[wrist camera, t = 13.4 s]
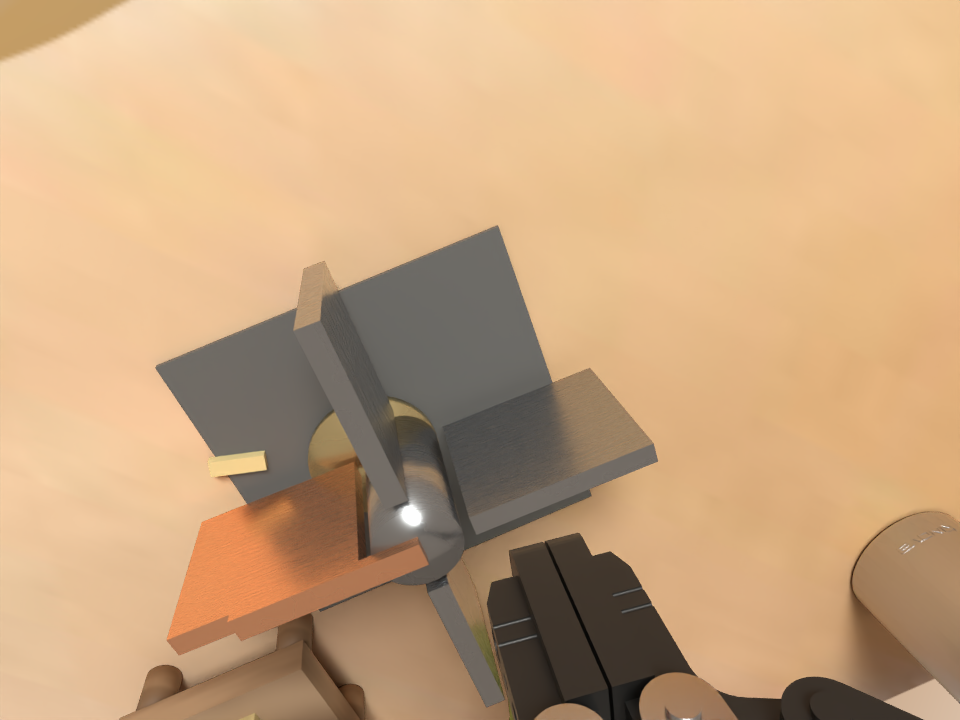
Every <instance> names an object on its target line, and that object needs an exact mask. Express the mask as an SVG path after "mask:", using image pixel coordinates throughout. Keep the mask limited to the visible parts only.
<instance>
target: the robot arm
mask: <svg viewBox="0 0 960 720" xmlns="http://www.w3.org/2000/svg"><path fill="white" fill-rule="evenodd" d="M509 556H510V563H511V569H512V575H513V577H510V578H506V579H503V580H499V581H495V582H492V583H491V587H490V592H489V597H488V601H487V607H488V613H489V618H490V623H491V629H492V634H493V639H494V645H495V650H496V655H497V660H498V663H499V667H500V671H501V674H502V678H503V681H504V685H505V689H506V693H507V697H508V700H509V704H510V708H511V711H512V715H513V719H514V720H923V719H921V718H919V717H916V716H914V715H912V714H910V713H907V712H905V711H903V710H901V709H899V708H896V707H894V706H892V705H890V704H887V703H885V702H883V701H881V700H879V699H876V698H874V697H872V696H870V695H867V694H865V693H863V692H861V691H859V690H856V689H854V688H852V687H850V686H847V685H845V684H843V683H841V682H838V681H835V680H832V679H828V678H823V677H806V678H802V679H799V680H796V681H794V682H793V683H791V684H790V685H789V686H788V687H787V688H786V689H785V691H784V693H783V695H782V698H781V699H768V698H745V697H736V696H732V695H728V694H725V693H722V692H720V691H718V690H716V689H715V688H714V687H713V686H711V685H710V684H709V683H707V682H706V681H704V680H703V679H701V678H699V677H698V676H697V675H696V674H695V673H694V672H693V671H692V669H691V668H690V666H689V665H688V663H687V661H686V660H685V658H684V656H683V655H682V653H681V651H680V650H679V648H678V646H677V645H676V643H675V641H674V640H673V638H672V636H671V634H670V633H669V631H668V629H667V628H666V626H665V624H664V623H663V621H662V619H661V618H660V616H659V614H658V613H657V611H656V609H655V607H654V606H652V603H651V601H650V599H649V597H648V596H647V594H646V592H645V591H644V590H643V589H642V586H641V584H640V582H639V580H638V579H637V577H636V575H635V574H634V572H633V570H632V569H631V567H630V566H629V565H628V564H626V563H625V562H624V561H622V560H621V559H620V558H618V557H617V556H616V555H614V554H613V553H612V552H606V553H602V554H598V555H595V556H592V555H591V553H590V551H589V549H588V547H587V545H586V543H585V541H584V540H583V538H582V536H581V535H580V534H579V533H575V534H571V535H567V536H564V537H560V538H556V539H552V540H548V541H545V544H544V543H543V542H541V543H537V544H533V545H529V546H525V547H521V548H517V549H513V550H509ZM852 585H853V591H854V593H855V595H856V598H857V599H858V600H859V601H860V602H861V603H862V604H863V605H864V606H865V607H866V608H867V609H868V610H869V611H870V612H871V613H872V614H873V615H874V617H875V618H876V619H877V620H878V621H879V622H880V623H881V624H882V625H883V626H884V627H885V628H886V629H887V630H888V631H889V632H890V633H891V634H892V635H893V636H894V637H895V638H896V639H897V640H898V641H899V642H900V643H901V644H902V645H903V646H904V647H905V648H906V649H907V650H908V651H909V652H910V653H911V654H912V655H913V656H914V658H915V659H916V660H917V661H918V662H919V663H920V664H921V665H922V666H923V667H924V668H925V669H926V670H927V671H928V672H929V673H930V674H931V675H932V676H933V677H934V678H935V679H936V680H937V681H938V682H939V683H940V684H941V685H942V686H943V687H944V688H945V689H946V690H947V691H948V692H949V693H950V694H951V695H952V696H953V697H954V698H955V699H956V700H957V701H958V702H959V703H960V522H958V521H957V520H956V519H954V518H953V517H951V516H950V515H948V514H945V513H941V512H924V513H918V514H915V515H912V516H909V517H906V518H904V519H902V520H900V521H898V522H896V523H895V524H893V525H891V526H890V527H889V528H887V529H886V530H884V531H883V532H882V533H881V534H879V535H878V536H877V537H876V538H875V539H874V540H873V541H872V542H871V543H870V544H869V546H868V547H867V548H866V549H865V550H864V552H863V553H862V555H861V557H860V558H859V560H858V562H857V564H856V567H855V570H854V572H853V579H852Z"/></svg>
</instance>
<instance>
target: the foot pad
mask: <svg viewBox="0 0 960 720" xmlns="http://www.w3.org/2000/svg"><path fill="white" fill-rule="evenodd" d="M338 292H339V294H340V296H341V298H342V300H343V302H344V305H345V307H346V309H347V311H348V313H349V315H350V318H351V320H352V322H353V324H354V326H355V328H356V331H357V333H358V335H359V337H360V339H361V341H362V344H363V346H364V348H365V350H366V352H367V354H368V357H369V359H370V361H371V363H372V365H373V367H374V370H375V372H376V374H377V376H378V378H379V380H380V383H381V385H382V387H383V389H384V391H385V393H386V396H389V397H394V398H398V399H401V400H404V401H406V402H408V403H410V404H412V405H414V406H415V407H417V408H418V409H419V410H421V411H422V412H423V413H424V414H425V415H426V416H427V418H428V419H429V420H430V422H431V423H432V425H433V427H434V429H435V432H436V435H437V438H438V442H439V446H440V450H441V454H442V457H443V461H444V465H445V468H446V472H447V476H448V480H449V483H450V487H451V491H452V494H453V498H454V502H455V505H456V509H457V513H458V517H459V520H460V524H461V528H462V531H463V535H464V550H466V549H469V548H471V547H473V546H476V545H478V544H480V543H483V542H485V541H487V540H490V539H492V538H494V537H497V536H499V535H501V534H504V533H506V532H508V531H511V530H513V529H515V528H518V527H520V526H522V525H525V524H527V523H530V522H532V521H534V520H537V519H539V518H541V517H544V516H546V515H548V514H551V513H553V512H555V511H558V510H560V509H562V508H565V507H567V506H569V505H572V504H574V503H576V502H579V501H581V500H583V499H586V498H588V497H590V496H591V493H590V490H586V491H584V492H581V493H579V494H576V495H574V496H571V497H569V498H566V499H564V500H561V501H559V502H556V503H554V504H551V505H549V506H547V507H544V508H542V509H539V510H537V511H534V512H532V513H529V514H527V515H524V516H522V517H519V518H517V519H514V520H512V521H510V522H507V523H505V524H502V525H500V526H497V527H495V528H492V529H490V530H487V531H485V532H482V533H480V534H477V535H476V532H475V530H474V528H473V526H472V523H471V521H470V519H469V516H468V512H467V509H466V505H465V502H464V499H463V495H462V492H461V488H460V485H459V482H458V478H457V475H456V471H455V468H454V464H453V461H452V458H451V454H450V451H449V447H448V444H447V441H446V437H445V434H444V430H443V426H445V425H448V424H450V423H453V422H455V421H458V420H460V419H463V418H465V417H468V416H470V415H473V414H475V413H478V412H480V411H483V410H485V409H488V408H490V407H493V406H495V405H498V404H500V403H503V402H506V401H508V400H511V399H513V398H516V397H518V396H521V395H523V394H526V393H528V392H531V391H533V390H536V389H538V388H541V387H543V386H546V385H548V384H551V383H552V380H551V377H550V374H549V371H548V369H547V366H546V363H545V360H544V357H543V354H542V351H541V348H540V345H539V343H538V340H537V337H536V334H535V331H534V328H533V325H532V322H531V319H530V316H529V314H528V311H527V308H526V305H525V302H524V299H523V296H522V293H521V290H520V288H519V285H518V282H517V279H516V276H515V273H514V270H513V267H512V264H511V262H510V259H509V256H508V253H507V250H506V247H505V244H504V241H503V238H502V236H501V233H500V230H499V227H498V226H495V227H492V228H490V229H488V230H485V231H483V232H480V233H478V234H475V235H473V236H470V237H468V238H466V239H463V240H461V241H458V242H456V243H453V244H451V245H449V246H446V247H444V248H441V249H439V250H436V251H434V252H432V253H429V254H427V255H424V256H422V257H419V258H417V259H415V260H412V261H410V262H407V263H405V264H402V265H400V266H398V267H395V268H393V269H390V270H388V271H385V272H383V273H380V274H378V275H376V276H373V277H371V278H368V279H366V280H363V281H361V282H359V283H356V284H354V285H351V286H349V287H346V288H344V289H342V290H339V291H338ZM296 312H297V308H295V309H293V310H290V311H288V312H286V313H283V314H281V315H278V316H276V317H273V318H271V319H269V320H266V321H264V322H261V323H259V324H256V325H254V326H252V327H249V328H247V329H244V330H242V331H239V332H237V333H234V334H232V335H230V336H227V337H225V338H222V339H220V340H217V341H215V342H213V343H210V344H208V345H205V346H203V347H200V348H198V349H196V350H193V351H191V352H188V353H186V354H183V355H181V356H179V357H176V358H174V359H171V360H169V361H166V362H164V363H162V364H159V365H157V366H156V370H157V371H158V373H159V374H160V376H161V377H162V379H163V380H164V382H165V383H166V384H167V386H168V387H169V389H170V390H171V392H172V393H173V395H174V396H175V398H176V399H177V401H178V402H179V404H180V405H181V407H182V408H183V410H184V411H185V413H186V414H187V416H188V417H189V418H190V420H191V421H192V423H193V424H194V426H195V427H196V429H197V430H198V432H199V433H200V435H201V436H202V438H203V439H204V441H205V442H206V444H207V445H208V447H209V448H210V450H211V451H212V452H213V454H214V455H215V457H210V458H209V460H208V467H209V471H210V475H211V477H218V476H226V475H228V476H229V478H230V479H231V481H232V482H233V484H234V485H235V486H236V488H237V489H238V491H239V492H240V494H241V495H242V497H243V498H244V500H245V501H246V503H247V504H249V503H251V502H254V501H256V500H259V499H261V498H264V497H266V496H269V495H271V494H274V493H276V492H279V491H281V490H284V489H286V488H289V487H291V486H294V485H297V484H299V483H302V482H304V481H307V480H309V479H312V478H311V475H310V472H309V467H308V450H309V444H310V440H311V437H312V434H313V432H314V430H315V428H316V427H317V425H318V424H319V423H320V421H321V420H322V419H323V418H324V417H325V416H326V415H327V414H328V413H329V412H330V411H332V410H333V407H332V405H331V403H330V401H329V400H328V398H327V396H326V394H325V392H324V390H323V388H322V386H321V384H320V382H319V380H318V378H317V376H316V374H315V372H314V370H313V368H312V366H311V364H310V363H309V361H308V359H307V357H306V355H305V353H304V351H303V349H302V347H301V345H300V343H299V341H298V339H297V337H296V335H295V333H294V331H293V329H294V324H295V318H296ZM364 524H365V541H366V557H369V556H371V551H370V536H369V522H368V512H364ZM464 550H463V551H464ZM389 582H391V581H388V582H385V583H383V584H380V585H378V586H375V587H373V588H370V589H368V590H365V591H363V592H361V593H358V594H356V595H353V596H351V597H348V598H346V599H343V600H341V601H338V602H336V603H333V604H331V605H329V606H326V607H324V608H321V609H319V611H320V612H321V611H323V610H326V609H328V608H330V607H333V606H335V605H337V604H340V603H342V602H344V601H347V600H349V599H351V598H354V597H356V596H358V595H361V594H363V593H365V592H368V591H370V590H372V589H375V588H377V587H379V586H382V585H384V584H387V583H389Z"/></svg>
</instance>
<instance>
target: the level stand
mask: <svg viewBox="0 0 960 720" xmlns="http://www.w3.org/2000/svg"><path fill="white" fill-rule="evenodd" d="M312 629H313V617H312V615H311V614H310V613H309V614H306V615H304V616H301V617H299V618H297V619H294V620H292V621H289V622H287V623H284V624H282V625H279V627H278V637H277V646H276V651H275V652H273V653H271V654H268V655H266V656H264V657H261V658H259V659H257V660H254V661H252V662H250V663H247V664H245V665H243V666H240V667H238V668H236V669H233V670H231V671H229V672H226V673H224V674H222V675H219V676H217V677H215V678H212V679H210V680H208V681H205V682H203V683H201V684H198V685H196V686H194V687H191V688H189V689H187V690H184V691H182V692H180V693H179V689H180V685H181V681H182V673H181V671H180V670H179V669H178V668H176V667H173V666H169V665H161V666H157V667H155V668H153V669H151V670H150V671H149V673H148V674H147V677H146V680H145V684H144V687H143V690H142V693H141V696H140V700H139V703H138V706H137V709H136V711H135V712H133V713H130V714H128V715H126V716H123V717H121V718H120V719H119V720H365V710H364V691H363V689H362V688H361V687H360V686H358V685H354V684H348V685H344V686H341V687H339V688H337V686H336V685H335V684H334V682H333V681H332V679H331V678H330V677H329V675H328V674H327V672H326V671H325V670H324V668H323V667H322V665H321V664H320V663H319V661H318V660H317V658H316V657H315V656H314V654H313V653H312Z"/></svg>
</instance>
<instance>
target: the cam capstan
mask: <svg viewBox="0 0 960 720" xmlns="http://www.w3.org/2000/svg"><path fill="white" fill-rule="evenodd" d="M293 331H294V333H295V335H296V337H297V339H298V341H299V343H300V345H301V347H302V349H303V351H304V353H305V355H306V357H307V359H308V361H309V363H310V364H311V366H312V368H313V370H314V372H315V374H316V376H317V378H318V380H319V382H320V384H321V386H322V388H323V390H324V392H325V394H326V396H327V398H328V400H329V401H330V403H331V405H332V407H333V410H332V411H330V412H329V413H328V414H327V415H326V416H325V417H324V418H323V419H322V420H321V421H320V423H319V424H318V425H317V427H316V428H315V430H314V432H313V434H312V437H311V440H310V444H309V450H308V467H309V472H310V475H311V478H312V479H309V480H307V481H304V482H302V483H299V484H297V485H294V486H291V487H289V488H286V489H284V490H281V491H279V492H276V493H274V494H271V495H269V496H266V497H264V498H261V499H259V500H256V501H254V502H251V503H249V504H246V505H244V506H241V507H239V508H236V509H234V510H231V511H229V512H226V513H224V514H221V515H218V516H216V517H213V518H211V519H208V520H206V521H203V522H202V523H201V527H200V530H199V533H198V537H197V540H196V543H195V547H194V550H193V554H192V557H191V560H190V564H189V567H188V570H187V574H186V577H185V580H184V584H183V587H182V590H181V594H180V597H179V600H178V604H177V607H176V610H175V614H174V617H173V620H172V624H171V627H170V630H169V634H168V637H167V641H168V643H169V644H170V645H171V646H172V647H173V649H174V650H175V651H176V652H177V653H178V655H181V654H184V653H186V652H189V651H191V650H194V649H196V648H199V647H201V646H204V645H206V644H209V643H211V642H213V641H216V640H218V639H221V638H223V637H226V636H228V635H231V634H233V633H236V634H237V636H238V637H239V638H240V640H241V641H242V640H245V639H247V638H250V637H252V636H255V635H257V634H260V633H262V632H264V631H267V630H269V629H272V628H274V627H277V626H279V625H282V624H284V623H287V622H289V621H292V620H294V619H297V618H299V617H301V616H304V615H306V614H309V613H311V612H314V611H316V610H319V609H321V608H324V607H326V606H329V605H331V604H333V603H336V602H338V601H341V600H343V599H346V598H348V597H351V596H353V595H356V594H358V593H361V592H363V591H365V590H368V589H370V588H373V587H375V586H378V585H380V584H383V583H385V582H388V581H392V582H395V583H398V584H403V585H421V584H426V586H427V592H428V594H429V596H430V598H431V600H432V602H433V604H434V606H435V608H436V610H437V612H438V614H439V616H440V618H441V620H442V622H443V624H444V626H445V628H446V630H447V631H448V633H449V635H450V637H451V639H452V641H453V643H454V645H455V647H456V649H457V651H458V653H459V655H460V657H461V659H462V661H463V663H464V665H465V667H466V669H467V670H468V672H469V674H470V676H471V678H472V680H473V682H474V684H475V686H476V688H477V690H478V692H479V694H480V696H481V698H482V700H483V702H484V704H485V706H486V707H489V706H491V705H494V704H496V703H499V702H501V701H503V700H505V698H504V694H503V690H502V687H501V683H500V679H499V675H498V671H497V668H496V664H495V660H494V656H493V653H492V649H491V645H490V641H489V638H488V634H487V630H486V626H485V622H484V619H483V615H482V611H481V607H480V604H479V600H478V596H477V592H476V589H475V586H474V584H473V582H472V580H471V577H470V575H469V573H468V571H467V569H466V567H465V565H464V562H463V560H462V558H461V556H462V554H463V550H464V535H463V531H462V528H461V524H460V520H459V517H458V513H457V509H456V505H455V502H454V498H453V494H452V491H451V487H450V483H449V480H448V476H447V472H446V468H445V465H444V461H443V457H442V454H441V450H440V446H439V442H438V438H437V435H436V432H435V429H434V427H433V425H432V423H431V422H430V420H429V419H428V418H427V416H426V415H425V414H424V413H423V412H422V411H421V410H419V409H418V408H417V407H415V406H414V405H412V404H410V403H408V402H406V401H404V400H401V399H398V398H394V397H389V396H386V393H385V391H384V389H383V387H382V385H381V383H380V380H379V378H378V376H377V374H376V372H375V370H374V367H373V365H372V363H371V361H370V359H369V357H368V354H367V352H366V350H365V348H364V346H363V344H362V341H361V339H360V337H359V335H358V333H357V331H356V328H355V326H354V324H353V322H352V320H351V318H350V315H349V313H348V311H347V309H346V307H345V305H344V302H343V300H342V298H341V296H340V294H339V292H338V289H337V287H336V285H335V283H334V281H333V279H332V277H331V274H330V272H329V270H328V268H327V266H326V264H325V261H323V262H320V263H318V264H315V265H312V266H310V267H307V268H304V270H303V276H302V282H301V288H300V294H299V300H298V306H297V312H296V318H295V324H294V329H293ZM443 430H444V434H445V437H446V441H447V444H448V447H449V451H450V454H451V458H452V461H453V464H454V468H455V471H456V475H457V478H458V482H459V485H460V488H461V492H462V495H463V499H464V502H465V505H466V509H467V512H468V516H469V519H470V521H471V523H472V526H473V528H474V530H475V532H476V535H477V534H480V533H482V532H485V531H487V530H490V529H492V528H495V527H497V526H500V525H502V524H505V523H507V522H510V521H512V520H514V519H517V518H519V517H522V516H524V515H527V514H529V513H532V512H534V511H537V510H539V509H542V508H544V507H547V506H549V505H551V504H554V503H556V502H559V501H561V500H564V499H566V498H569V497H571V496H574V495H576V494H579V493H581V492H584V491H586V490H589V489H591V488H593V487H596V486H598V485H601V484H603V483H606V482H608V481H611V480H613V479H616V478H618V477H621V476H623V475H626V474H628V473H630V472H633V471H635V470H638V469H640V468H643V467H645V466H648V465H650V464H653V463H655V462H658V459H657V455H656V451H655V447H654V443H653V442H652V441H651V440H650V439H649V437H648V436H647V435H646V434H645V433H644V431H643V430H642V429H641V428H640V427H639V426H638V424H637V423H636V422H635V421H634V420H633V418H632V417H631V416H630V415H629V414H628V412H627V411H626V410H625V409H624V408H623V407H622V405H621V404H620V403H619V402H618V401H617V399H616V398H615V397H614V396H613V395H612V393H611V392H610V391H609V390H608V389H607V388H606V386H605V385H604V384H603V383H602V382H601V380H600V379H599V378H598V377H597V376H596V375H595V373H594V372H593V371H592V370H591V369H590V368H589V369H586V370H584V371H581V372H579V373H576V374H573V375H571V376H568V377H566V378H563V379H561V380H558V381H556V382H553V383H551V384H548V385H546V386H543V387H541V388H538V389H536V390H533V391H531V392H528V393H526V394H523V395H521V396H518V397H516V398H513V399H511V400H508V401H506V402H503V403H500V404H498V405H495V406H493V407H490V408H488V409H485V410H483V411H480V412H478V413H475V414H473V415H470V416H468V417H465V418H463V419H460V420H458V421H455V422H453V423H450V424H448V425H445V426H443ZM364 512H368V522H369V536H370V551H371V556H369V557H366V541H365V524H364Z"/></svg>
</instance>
